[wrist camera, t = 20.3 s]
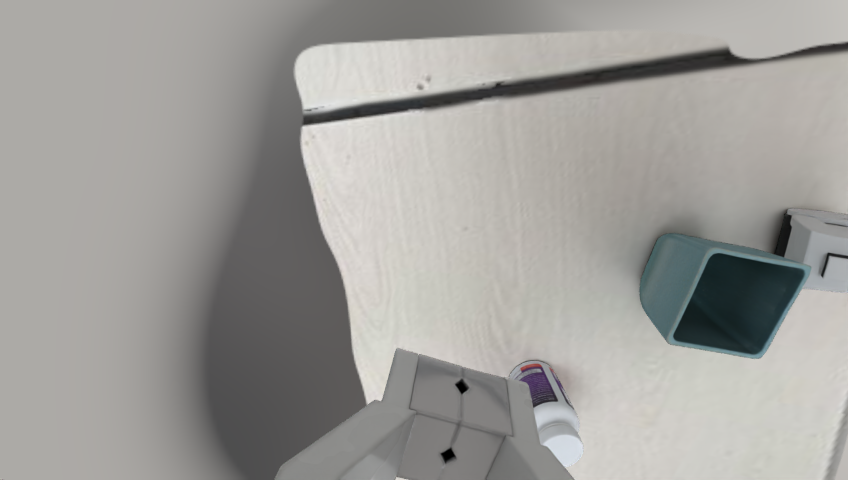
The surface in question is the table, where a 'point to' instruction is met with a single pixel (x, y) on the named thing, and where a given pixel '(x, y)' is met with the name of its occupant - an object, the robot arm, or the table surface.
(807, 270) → the flower pot
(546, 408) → the pill bottle
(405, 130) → the table surface
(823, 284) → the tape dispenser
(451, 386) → the robot arm
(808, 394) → the table surface
